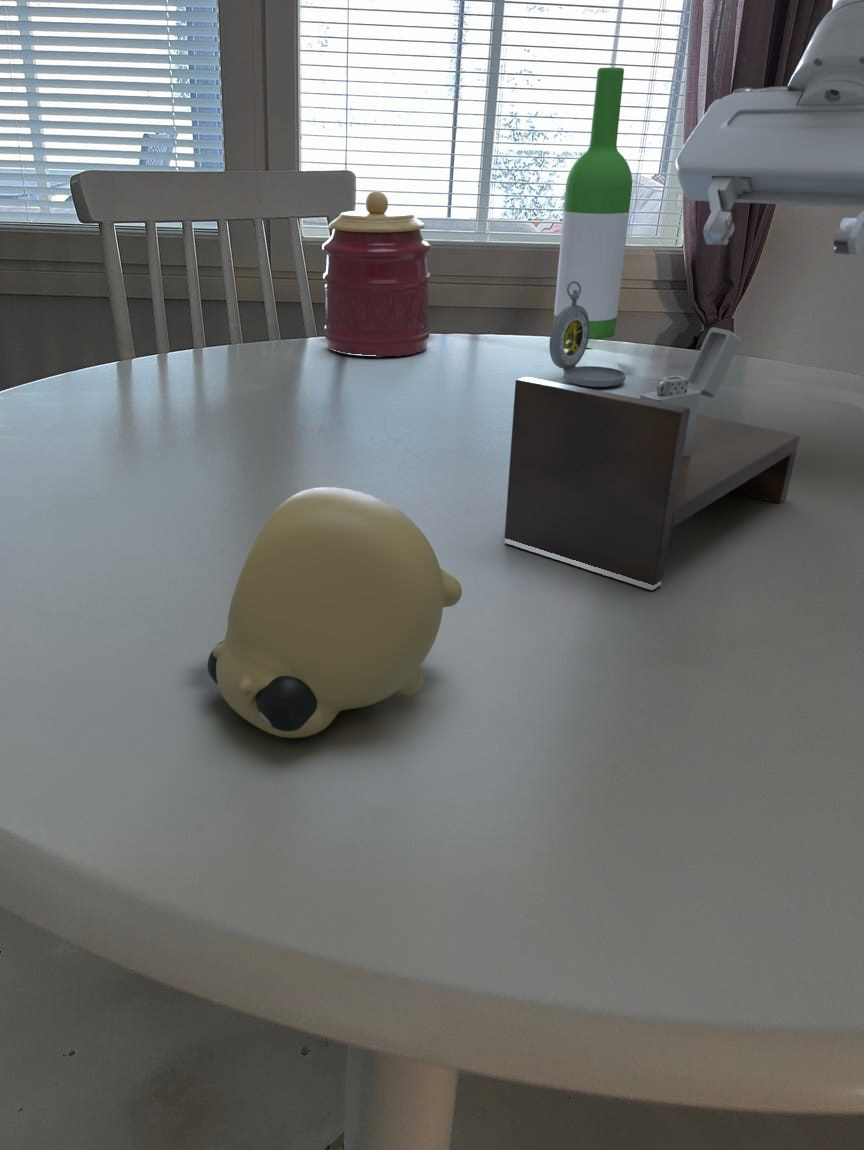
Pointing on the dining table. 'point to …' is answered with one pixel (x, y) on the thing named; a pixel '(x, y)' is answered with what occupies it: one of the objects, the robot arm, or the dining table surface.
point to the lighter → (698, 378)
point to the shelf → (626, 473)
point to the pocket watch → (578, 347)
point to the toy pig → (330, 612)
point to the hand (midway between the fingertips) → (776, 243)
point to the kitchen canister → (377, 282)
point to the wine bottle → (596, 216)
